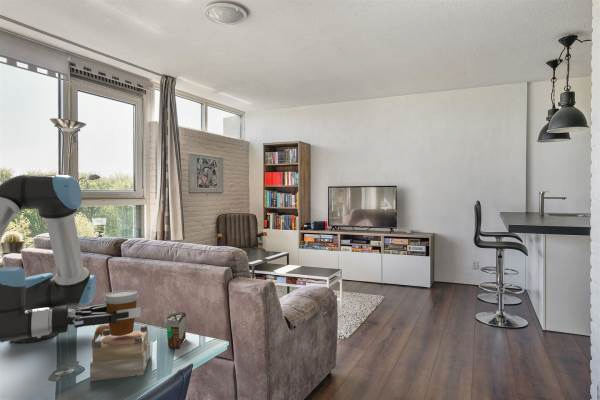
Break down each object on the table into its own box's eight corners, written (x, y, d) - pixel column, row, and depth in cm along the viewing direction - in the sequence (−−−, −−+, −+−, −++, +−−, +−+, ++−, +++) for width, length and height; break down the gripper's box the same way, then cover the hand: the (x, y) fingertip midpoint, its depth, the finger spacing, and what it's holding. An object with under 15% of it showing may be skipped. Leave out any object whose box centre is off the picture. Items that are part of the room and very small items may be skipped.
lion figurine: (117, 334, 144) (117, 310, 144) (128, 335, 143) (128, 311, 143) (86, 348, 130) (86, 322, 130) (99, 349, 129) (99, 323, 129)
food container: (169, 338, 139) (169, 311, 139) (186, 337, 139) (186, 310, 139) (160, 351, 126) (159, 321, 127) (178, 350, 127) (178, 321, 127)
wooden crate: (102, 361, 119) (102, 329, 119) (149, 356, 122) (149, 325, 123) (90, 381, 105) (90, 344, 105) (143, 374, 109) (143, 339, 109)
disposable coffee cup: (125, 339, 108) (125, 297, 108) (97, 337, 110) (96, 296, 110) (145, 328, 118) (145, 290, 118) (118, 326, 120) (118, 289, 120)
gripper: (54, 323, 114) (134, 312, 125) (48, 345, 96) (143, 330, 107) (54, 299, 114) (134, 290, 126) (48, 316, 96) (143, 304, 107)
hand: (138, 308), depth 116 cm, fingers closed on disposable coffee cup, 8 cm apart
